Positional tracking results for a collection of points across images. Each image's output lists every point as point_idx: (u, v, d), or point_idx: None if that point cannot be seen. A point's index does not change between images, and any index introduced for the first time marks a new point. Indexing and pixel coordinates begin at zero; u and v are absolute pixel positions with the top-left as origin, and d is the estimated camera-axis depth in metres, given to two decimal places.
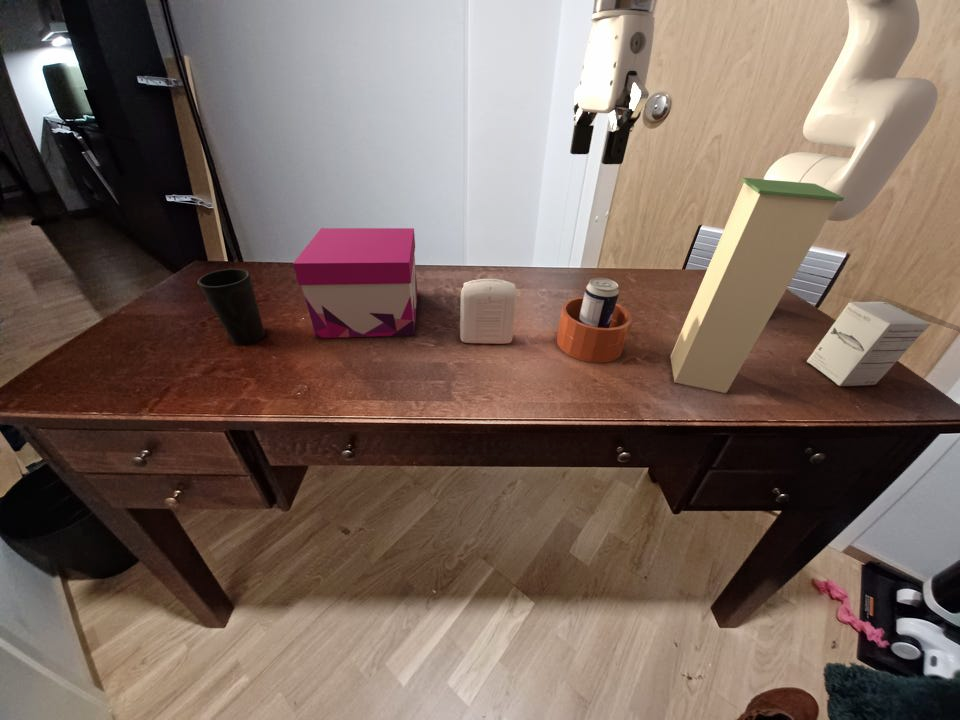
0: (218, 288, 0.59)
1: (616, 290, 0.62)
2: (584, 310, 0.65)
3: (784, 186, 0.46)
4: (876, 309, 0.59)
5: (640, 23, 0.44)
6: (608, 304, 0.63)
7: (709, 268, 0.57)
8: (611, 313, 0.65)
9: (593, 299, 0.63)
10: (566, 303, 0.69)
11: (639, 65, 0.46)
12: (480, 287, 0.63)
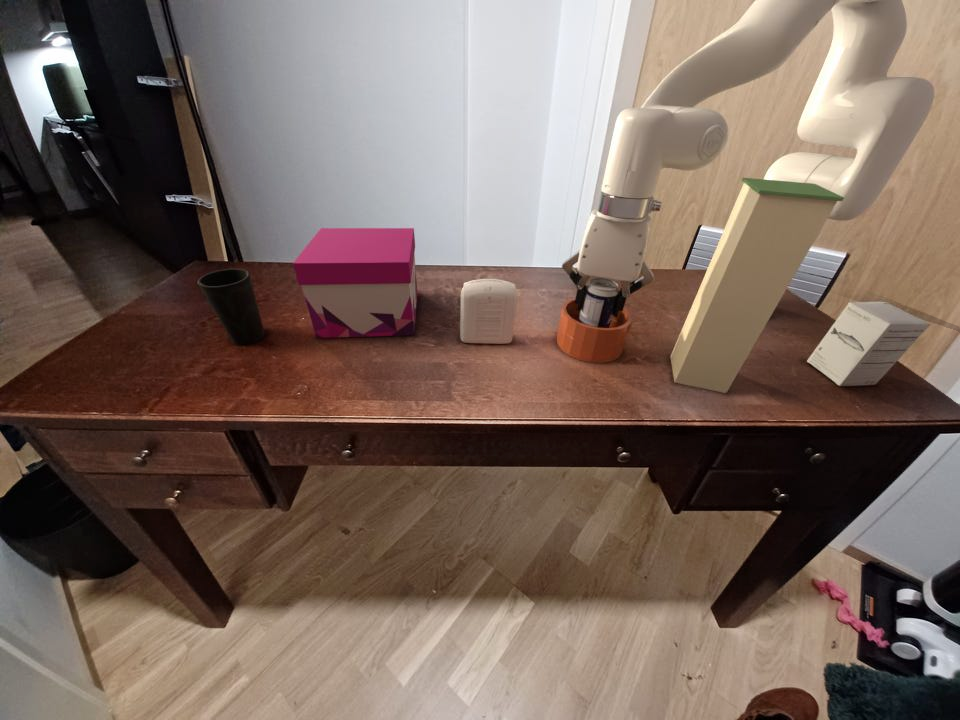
0: (218, 288, 0.59)
1: (616, 290, 0.62)
2: (584, 310, 0.65)
3: (784, 186, 0.46)
4: (876, 309, 0.59)
5: (650, 223, 0.56)
6: (608, 304, 0.63)
7: (709, 268, 0.57)
8: (611, 313, 0.65)
9: (593, 299, 0.63)
10: (566, 303, 0.69)
11: None
12: (481, 287, 0.63)
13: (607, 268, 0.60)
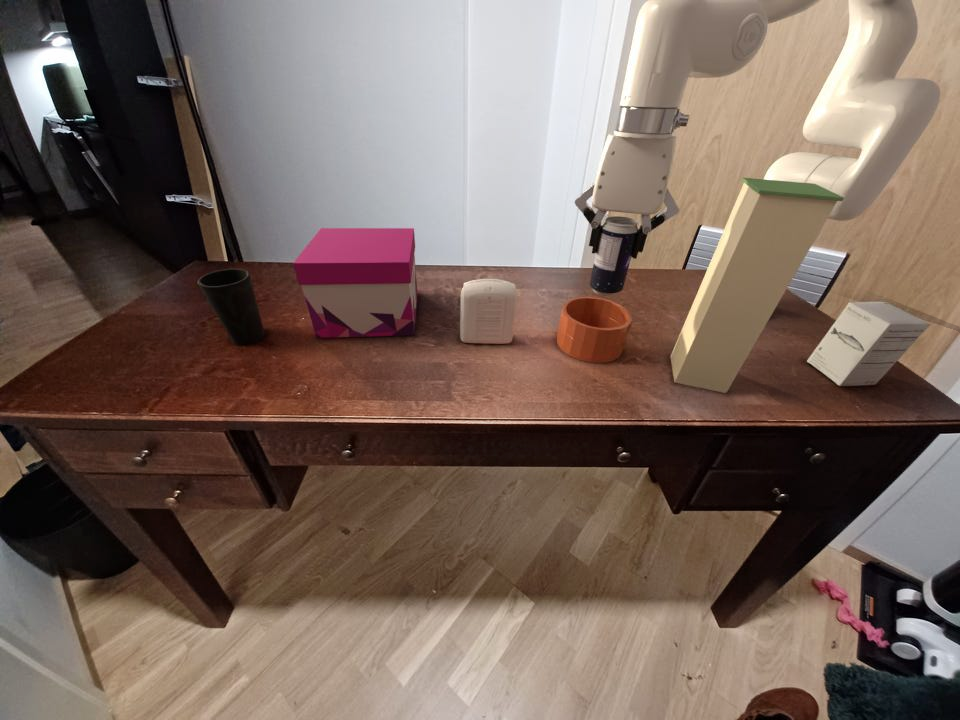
0: (218, 288, 0.59)
1: (635, 227, 0.56)
2: (600, 252, 0.59)
3: (784, 186, 0.46)
4: (876, 309, 0.59)
5: (675, 143, 0.50)
6: (627, 242, 0.57)
7: (709, 268, 0.57)
8: (630, 254, 0.58)
9: (610, 237, 0.57)
10: (566, 303, 0.69)
11: None
12: (481, 287, 0.63)
13: (626, 199, 0.53)
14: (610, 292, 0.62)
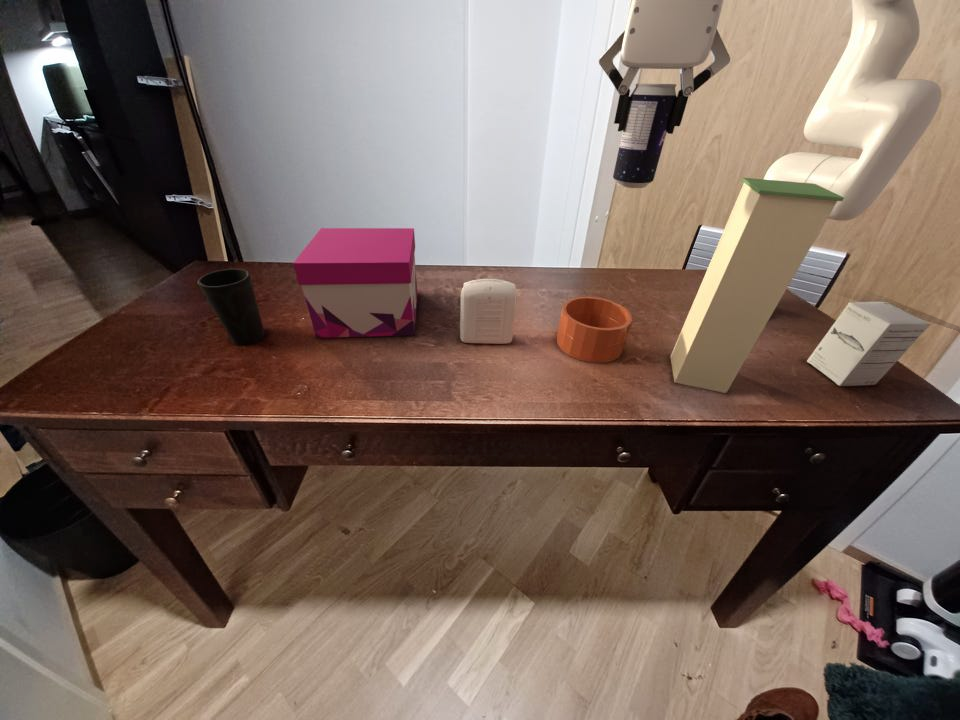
0: (218, 288, 0.59)
1: (674, 88, 0.46)
2: (628, 127, 0.49)
3: (784, 186, 0.46)
4: (876, 309, 0.59)
5: None
6: (663, 108, 0.46)
7: (709, 268, 0.57)
8: (665, 128, 0.48)
9: (642, 103, 0.47)
10: (566, 303, 0.69)
11: None
12: (481, 287, 0.63)
13: (665, 45, 0.43)
14: (639, 181, 0.51)
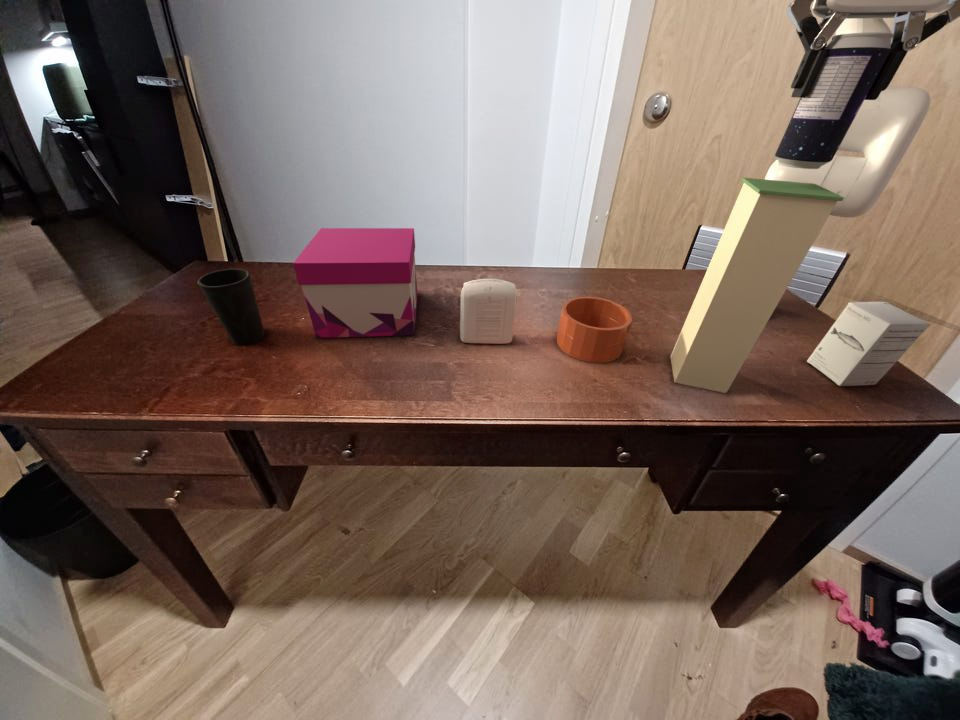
0: (218, 288, 0.59)
1: (890, 40, 0.37)
2: (818, 91, 0.39)
3: (784, 186, 0.46)
4: (876, 309, 0.59)
5: None
6: (875, 65, 0.37)
7: (709, 268, 0.57)
8: (867, 92, 0.39)
9: (847, 59, 0.37)
10: (566, 303, 0.69)
11: None
12: (481, 287, 0.63)
13: None
14: (819, 160, 0.42)
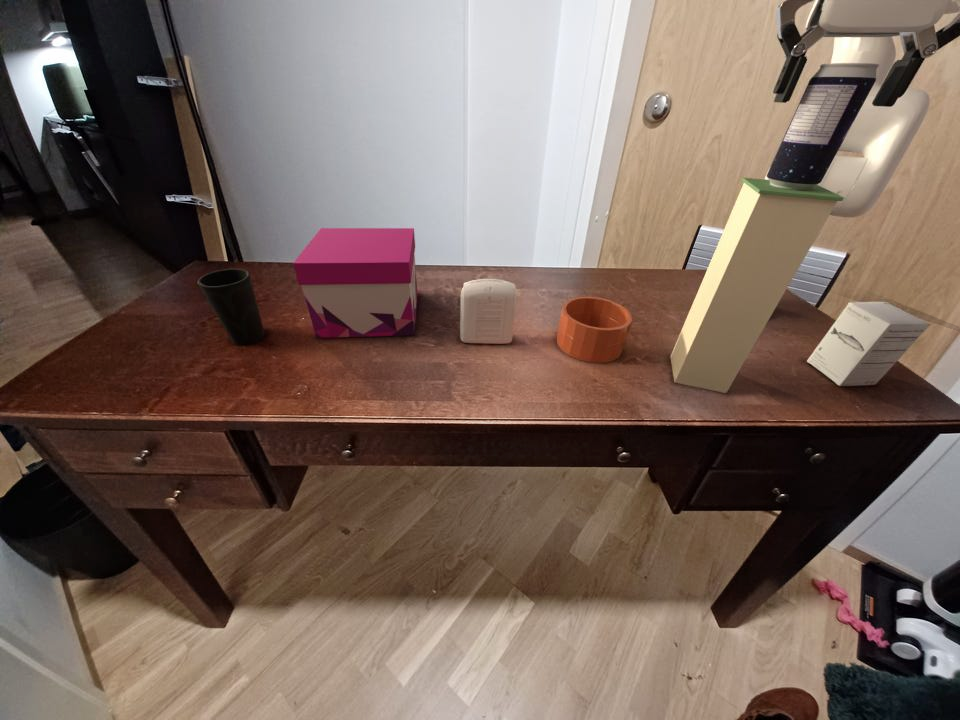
0: (218, 288, 0.59)
1: None
2: (807, 117, 0.41)
3: None
4: (876, 309, 0.59)
5: None
6: (861, 94, 0.38)
7: (709, 268, 0.57)
8: (854, 118, 0.40)
9: (834, 87, 0.38)
10: (566, 303, 0.69)
11: None
12: (481, 287, 0.63)
13: (888, 2, 0.35)
14: (809, 182, 0.43)
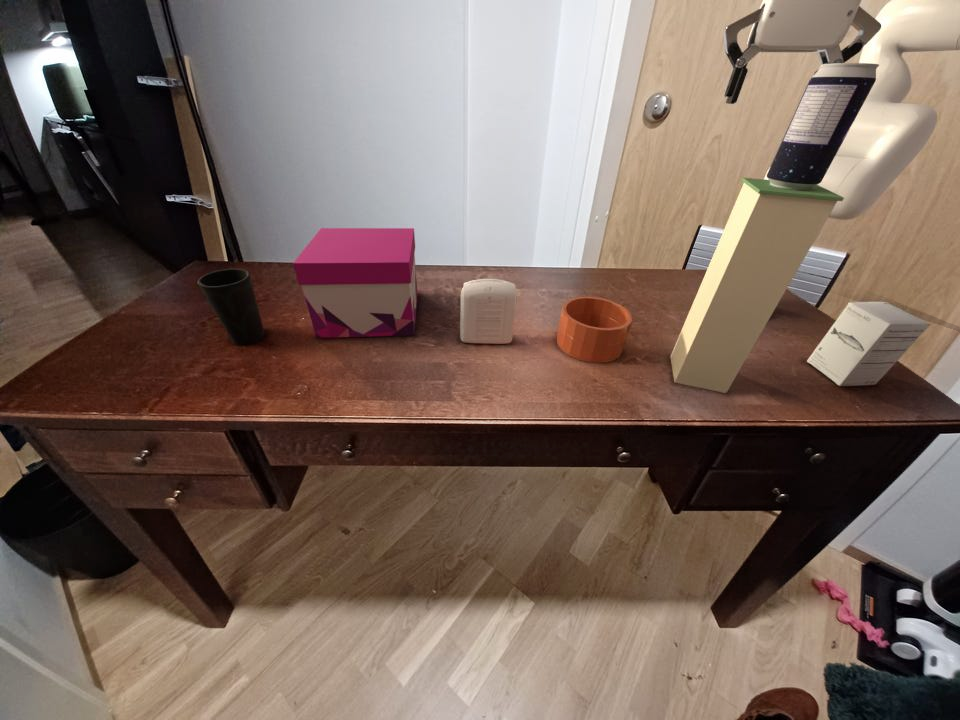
0: (218, 288, 0.59)
1: None
2: (807, 117, 0.41)
3: None
4: (876, 309, 0.59)
5: None
6: (861, 94, 0.38)
7: (709, 268, 0.57)
8: (854, 118, 0.40)
9: (834, 87, 0.38)
10: (566, 303, 0.69)
11: None
12: (481, 287, 0.63)
13: (803, 28, 0.46)
14: (809, 182, 0.43)
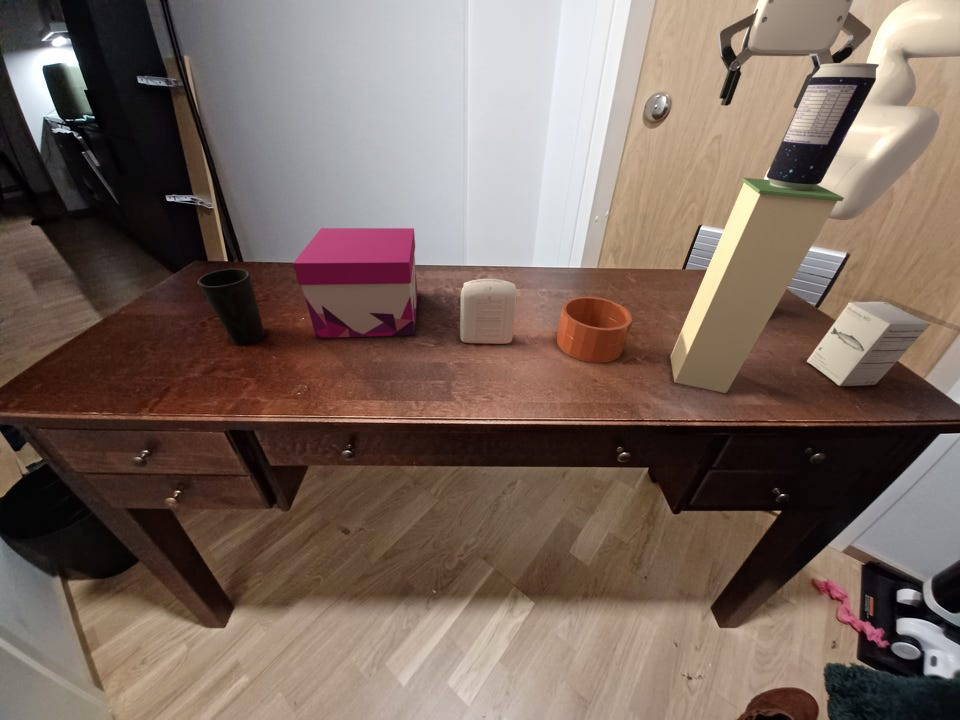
0: (218, 288, 0.59)
1: None
2: (807, 117, 0.41)
3: None
4: (876, 309, 0.59)
5: None
6: (861, 94, 0.38)
7: (709, 268, 0.57)
8: (854, 118, 0.40)
9: (834, 87, 0.38)
10: (566, 303, 0.69)
11: None
12: (481, 287, 0.63)
13: (795, 32, 0.47)
14: (809, 182, 0.43)
